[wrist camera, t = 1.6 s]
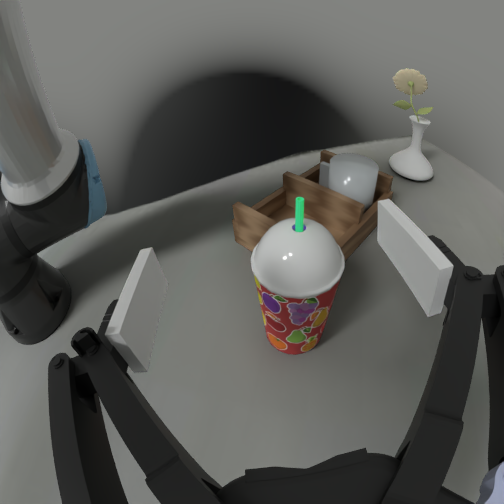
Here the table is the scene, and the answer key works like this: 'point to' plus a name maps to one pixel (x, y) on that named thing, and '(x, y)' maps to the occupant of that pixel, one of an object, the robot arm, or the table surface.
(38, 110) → the robot arm
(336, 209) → the rack
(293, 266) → the smoothie
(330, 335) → the table surface
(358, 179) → the mug
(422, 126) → the flower in vase
